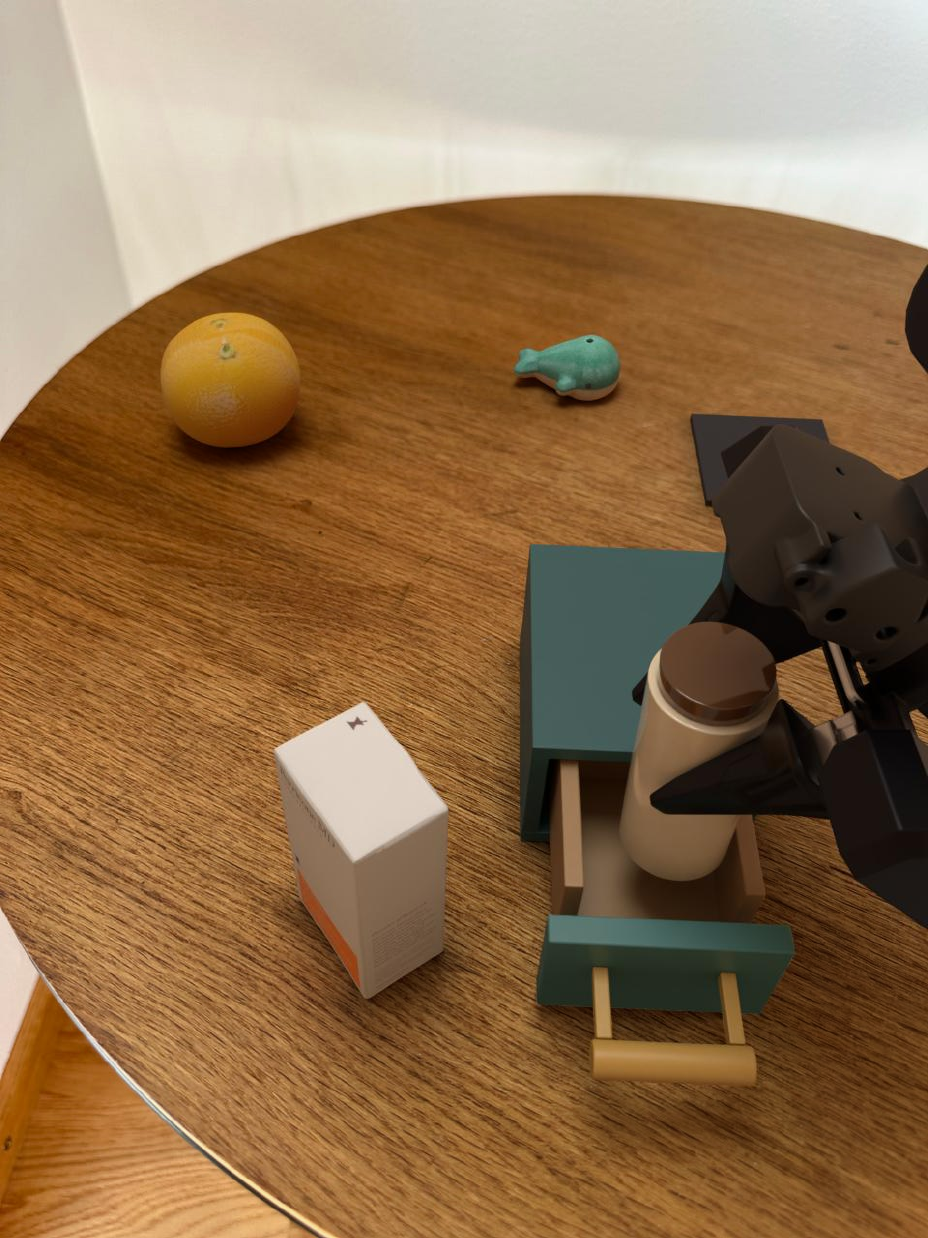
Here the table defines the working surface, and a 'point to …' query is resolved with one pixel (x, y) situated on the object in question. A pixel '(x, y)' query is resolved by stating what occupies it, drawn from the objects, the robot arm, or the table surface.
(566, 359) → the whale figurine
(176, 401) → the fruit
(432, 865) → the cosmetic box
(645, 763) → the spice jar
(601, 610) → the cabinet
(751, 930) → the drawer
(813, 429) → the mat
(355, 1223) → the table surface
